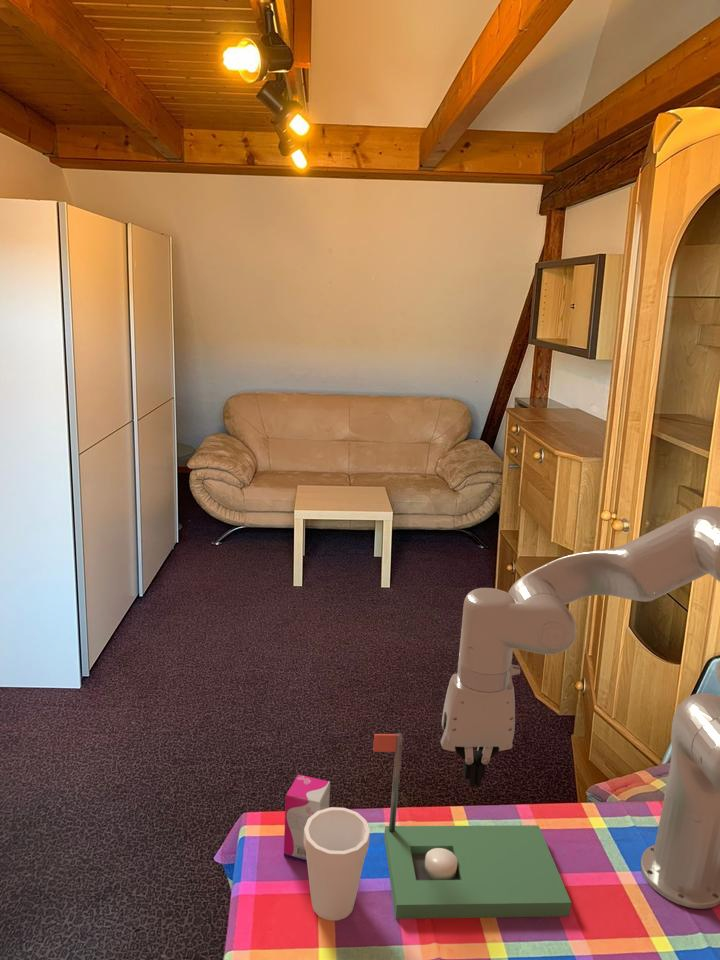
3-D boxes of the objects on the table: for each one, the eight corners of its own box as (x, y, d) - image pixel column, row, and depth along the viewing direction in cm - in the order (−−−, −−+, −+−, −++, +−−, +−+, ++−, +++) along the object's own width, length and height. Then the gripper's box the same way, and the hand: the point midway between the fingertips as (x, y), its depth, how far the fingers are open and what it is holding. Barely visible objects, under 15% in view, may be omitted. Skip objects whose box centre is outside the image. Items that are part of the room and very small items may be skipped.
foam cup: (356, 936, 106) (361, 860, 102) (293, 922, 108) (296, 847, 104) (369, 884, 115) (374, 813, 111) (311, 872, 117) (314, 802, 113)
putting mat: (536, 837, 127) (552, 732, 121) (569, 916, 111) (588, 799, 106) (366, 838, 124) (373, 730, 119) (375, 919, 109) (384, 799, 103)
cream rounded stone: (451, 857, 120) (452, 846, 119) (460, 881, 115) (461, 870, 115) (421, 859, 119) (422, 849, 119) (428, 884, 114) (429, 873, 114)
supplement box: (328, 840, 124) (331, 780, 120) (316, 866, 118) (319, 804, 115) (295, 831, 125) (297, 772, 122) (282, 856, 119) (284, 795, 116)
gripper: (526, 660, 113) (514, 765, 118) (428, 659, 111) (420, 766, 116) (542, 686, 106) (528, 797, 110) (437, 686, 104) (428, 798, 109)
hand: (472, 781), depth 113 cm, fingers closed
